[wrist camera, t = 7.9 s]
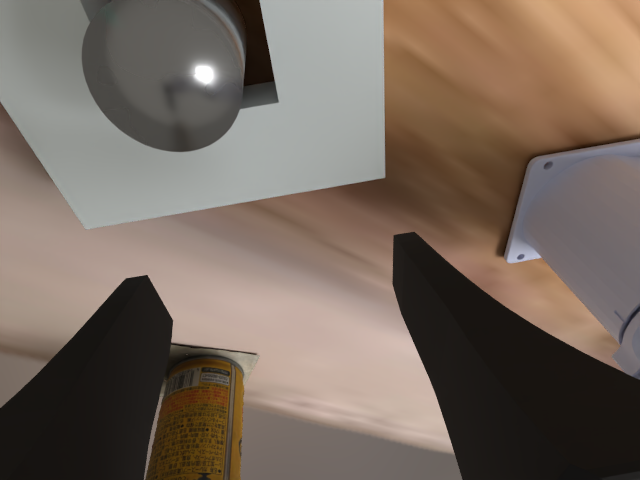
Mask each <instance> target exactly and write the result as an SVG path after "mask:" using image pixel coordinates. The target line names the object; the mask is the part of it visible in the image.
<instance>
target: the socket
mask: <svg viewBox="0 0 640 480" xmlns="http://www.w3.org/2000/svg"><path fill="white" fill-rule="evenodd" d="M111 1H113V0H0V102H1V103H2V105H3V106H4V108H5V109H6V111H7V112H8V114H9V115H10V117H11V118H12V120H13V121H14V123H15V124H16V126H17V127H18V129H19V130H20V132H21V133H22V135H23V136H24V138H25V139H26V141H27V142H28V144H29V145H30V147H31V148H32V150H33V151H34V153H35V154H36V156H37V157H38V159H39V160H40V162H41V163H42V165H43V166H44V168H45V169H46V171H47V172H48V174H49V175H50V177H51V178H52V180H53V181H54V183H55V184H56V186H57V187H58V189H59V190H60V192H61V193H62V195H63V196H64V198H65V199H66V201H67V202H68V204H69V205H70V207H71V208H72V210H73V211H74V213H75V214H76V216H77V217H78V219H79V220H80V222H81V223H82V225H83V226H84V228H85V229H86V230H87V229H93V228H99V227H104V226H110V225H116V224H122V223H127V222H133V221H139V220H145V219H151V218H156V217H162V216H168V215H174V214H179V213H185V212H191V211H197V210H203V209H208V208H214V207H220V206H226V205H231V204H237V203H243V202H249V201H255V200H260V199H266V198H272V197H278V196H283V195H289V194H295V193H301V192H307V191H312V190H318V189H324V188H330V187H335V186H341V185H347V184H353V183H358V182H364V181H370V180H376V179H382V178H385V109H384V24H383V0H260V6H261V11H262V16H263V21H264V26H265V32H266V37H267V42H268V47H269V53H270V58H271V63H272V68H273V73H274V79H275V81H272V82H266V83H260V84H254V85H248V86H243V94H242V102H241V106H240V110H239V113H238V115H237V118H236V120H235V122H234V123H233V125H232V127H231V128H230V129H229V130H228V132H227V133H226V134H225V135H224V136H222V137H221V138H220V139H219V140H217V141H216V142H215V143H213V144H211V145H209V146H207V147H204V148H202V149H199V150H194V151H189V152H170V151H163V150H159V149H155V148H152V147H149V146H147V145H144V144H142V143H140V142H138V141H136V140H134V139H132V138H131V137H129V136H128V135H126V134H125V133H123V132H122V131H121V130H119V129H118V128H117V127H116V126H115V125H114V124H113V123H112V122H111V121H110V120H109V119H108V118H107V117H106V116H105V115H104V113H103V112H102V111H101V110H100V108H99V107H98V105H97V104H96V102H95V101H94V99H93V97H92V95H91V93H90V91H89V88H88V86H87V83H86V80H85V77H84V73H83V67H82V45H83V39H84V36H85V33H86V30H87V28H88V26H89V24H90V22H91V20H92V19H93V17H94V16H95V15H96V14H97V12H98V11H99V10H101V9H102V8H103V7H104V6H105V5H106V4H108V3H110V2H111Z"/></svg>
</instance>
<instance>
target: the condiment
mask: <svg viewBox="0 0 640 480" xmlns="http://www.w3.org/2000/svg"><path fill="white" fill-rule="evenodd" d="M186 354H188V355H186ZM258 358H259V355H252V354H245V353H240V352H230V351H225V350H215V349H204V348H199V349H194V348H190V347H182V346H177V345H171V347H170V354H169V359H168V363H167V368H166V372H165V376H164V379H165V380H166V382H165V381H163V384H162V388H161V393H160V397H163V399H162V403H161V409H160V412H159V418H158V421H157V428H156V432H155V438H154V442H153V445H152V453H151V457H150V461H149V466H148V470H147V475H146V479H145V480H241V479H240V467H241V441H242V440H241V439H242V426H243V424H242V422H243V417H242V414H243V404H244V403H243V395H244V386H245V384H246V381H247V380H248V378H249V376H250V374H251V372H252V370H253V368H254V367H255V364H256V363H257V361H258Z"/></svg>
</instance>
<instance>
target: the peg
mask: <svg viewBox="0 0 640 480" xmlns="http://www.w3.org/2000/svg"><path fill="white" fill-rule="evenodd" d="M246 48H247V31H246V25H245V21H244V18H243V16H242V13H241V11H240V9H239V7H238V5H237V4H236V2H235V1H234V0H113V1H111V2H110V3H108V4H106V5H105V6H104V7H103V8H102V9H101V10H99V11H98V12H97V14H96V15H95V16H94V17H93V19H92V20H91V22H90V24H89V26H88V28H87V30H86V33H85V36H84V39H83V45H82V67H83V73H84V77H85V80H86V83H87V86H88V88H89V91H90V93H91V95H92V97H93V99H94V101H95V102H96V104H97V105H98V107H99V108H100V110H101V111H102V112H103V113H104V115H105V116H106V117H107V118H108V119H109V120H110V121H111V122H112V123H113V124H114V125H115V126H116V127H117V128H118V129H119V130H121V131H122V132H123V133H125V134H126V135H128V136H129V137H131V138H132V139H134V140H136V141H138V142H140V143H142V144H144V145H147V146H149V147H152V148H155V149H159V150H163V151H170V152H189V151H194V150H199V149H202V148H204V147H207V146H209V145H211V144H213V143H215V142H216V141H217V140H219V139H220V138H221V137H222V136H224V135H225V134H226V133H227V132H228V130H229V129H230V128H231V127H232V125H233V123H234V122H235V120H236V118H237V115H238V113H239V110H240V106H241V102H242V94H243V83H244V71H245V60H246Z"/></svg>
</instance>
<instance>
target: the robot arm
mask: <svg viewBox="0 0 640 480" xmlns="http://www.w3.org/2000/svg"><path fill="white" fill-rule="evenodd" d="M547 162H548V164H547V165H545V164H546V163H547ZM544 165H545V166H544ZM537 258H543V260H544V261H545V262H546V263H547V264H548V265H549V266H550V267H551V269H552V270H553V271H554V272H555V273H556V274H557V275H558V276H559V277H560V279H561V280H562V281H563V282H564V283H565V284H566V285H567V286H568V287H569V289H570V290H571V291H572V292H573V293H574V294H575V295H576V296H577V297H578V299H579V300H580V301H581V302H582V303H583V304H584V305H585V306H586V307H587V309H588V310H589V311H590V312H591V313H592V314H593V315H594V316H595V317H596V319H597V320H598V321H599V322H600V323H601V324H602V325H603V326H604V327H605V329H606V330H607V331H608V332H609V333H610V334H611V335H612V336H613V337H614V339H615V340H616V341H617V342H618V343H619V344H620V345H621V346H620V347H619V349H618V350H617V351H616V352H615V353H614V354H613V355H612V358H613V359H614V360H615V361H616V363H617V364H618V365H619V366H620V367H621V368H622V370H623V371H624V372H625V373H624V372H622V371H620V370H618V369H616V368H613V367H611V366H609V365H607V364H605V363H603V362H601V361H599V360H597V359H595V358H593V357H591V356H589V355H587V354H585V353H583V352H581V351H579V350H577V349H576V348H574V347H572V346H570V345H568V344H566V343H565V342H563V341H561V340H559V339H557V338H555V337H554V336H552V335H550V334H548V333H547V332H545V331H543V330H541V329H540V328H538V327H536V326H535V325H533V324H531V323H530V322H528V321H527V320H525V319H524V318H522V317H520V316H519V315H517V314H516V313H514V312H513V311H511V310H509V309H508V308H507V307H505V306H504V305H502V304H501V303H499V302H498V301H497V300H495V299H494V298H492V297H491V296H490V295H488V294H487V293H486V292H484V291H483V290H482V289H480V288H479V287H478V286H477V285H475V284H474V283H473V282H471V281H470V280H469V279H468V278H467V277H465V276H464V275H463V274H462V273H460V272H459V271H458V270H457V269H456V268H454V267H453V266H452V265H451V264H450V263H449V262H447V261H446V260H445V259H444V258H443V257H442V256H441V255H439V254H438V253H437V252H436V251H435V250H434V249H433V248H432V247H431V246H430V245H428V244H427V243H426V242H425V241H424V240H423V239H422V238H421V237H420V236H419V235H418V234H416V233H415V232H410V233H404V234H398V235H394V242H393V287H394V291H395V294H396V298H397V301H398V304H399V308H400V311H401V314H402V316H403V319H404V321H405V324H406V326H407V328H408V330H409V333H410V335H411V337H412V340H413V342H414V344H415V347H416V349H417V351H418V353H419V356H420V358H421V360H422V363H423V365H424V367H425V369H426V372H427V374H428V376H429V379H430V381H431V384H432V386H433V389H434V391H435V394H436V397H437V400H438V403H439V406H440V409H441V412H442V415H443V418H444V421H445V424H446V427H447V430H448V433H449V437H450V440H451V443H452V446H453V450H454V453H455V456H456V459H457V462H458V466H459V469H460V473H461V476H462V479H463V480H640V139H635V140H629V141H624V142H618V143H612V144H606V145H601V146H595V147H589V148H583V149H578V150H572V151H566V152H560V153H554V154H549V155H543V156H538V157H535V158H533V159H532V160H531V161H530V162H529V164H528V166H527V170H526V174H525V178H524V182H523V185H522V189H521V193H520V197H519V201H518V205H517V208H516V212H515V216H514V220H513V224H512V227H511V231H510V235H509V239H508V243H507V247H506V250H505V254H504V259H505V260H506V261H507V262H508V263H515V262H521V261H526V260H532V259H537ZM172 327H173V320H172V318H171V316H170V314H169V312H168V311H167V309H166V307H165V305H164V304H163V302H162V300H161V298H160V297H159V295H158V293H157V291H156V290H155V288H154V286H153V284H152V283H151V281H150V279H149V277H148V276H147V275H145V276H139V277H132V278H126V279H125V280H124V281H123V282H122V283H121V284H120V285H119V286H118V287H117V289H116V290H115V291H114V292H113V293H112V294H111V295H110V296H109V297H108V299H107V300H106V301H105V302H104V303H103V304H102V305H101V306H100V308H99V309H98V310H97V311H96V312H95V313H94V314H93V315H92V317H91V318H90V319H89V320H88V321H87V322H86V323H85V324H84V325H83V327H82V328H81V329H80V330H79V331H78V332H77V333H76V334H75V335H74V337H73V338H72V339H71V340H70V341H69V342H68V343H67V344H66V345H65V346H64V347H63V348H62V349H61V350H60V351H59V352H58V353H57V354H56V355H55V356H54V357H53V358H52V359H51V360H50V361H49V363H48V364H47V365H46V366H45V367H44V368H43V369H42V370H41V371H40V372H39V373H38V374H37V375H36V376H35V377H34V378H33V379H32V380H31V381H30V382H29V383H28V384H26V385H25V386H24V387H23V388H22V389H21V390H20V391H19V392H18V393H17V394H16V395H15V396H14V397H12V398H11V399H10V400H9V401H8V402H7V403H6V404H5V405H4V406H2V407H1V408H0V480H144V473H145V466H146V459H147V451H148V444H149V439H150V434H151V430H152V425H153V421H154V416H155V413H156V409H157V405H158V401H159V397H160V393H161V388H162V384H163V380H164V376H165V372H166V368H167V363H168V359H169V354H170V347H171V339H172Z"/></svg>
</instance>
